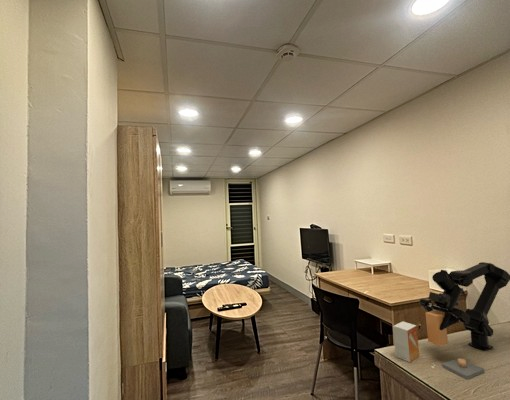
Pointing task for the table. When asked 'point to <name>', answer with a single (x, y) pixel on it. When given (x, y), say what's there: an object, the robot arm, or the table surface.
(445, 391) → the table surface
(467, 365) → the plate
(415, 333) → the small box
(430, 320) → the orange block on stand
